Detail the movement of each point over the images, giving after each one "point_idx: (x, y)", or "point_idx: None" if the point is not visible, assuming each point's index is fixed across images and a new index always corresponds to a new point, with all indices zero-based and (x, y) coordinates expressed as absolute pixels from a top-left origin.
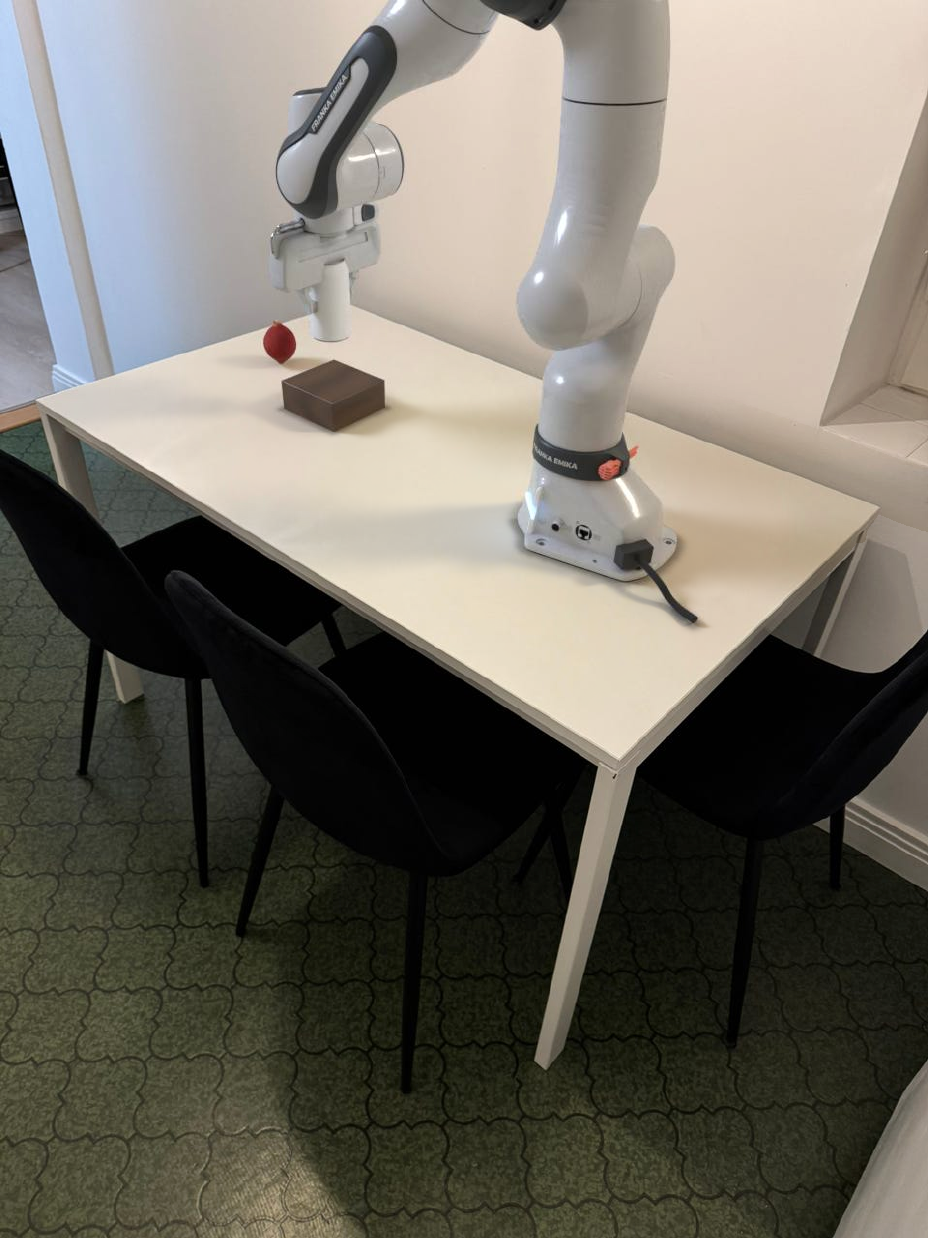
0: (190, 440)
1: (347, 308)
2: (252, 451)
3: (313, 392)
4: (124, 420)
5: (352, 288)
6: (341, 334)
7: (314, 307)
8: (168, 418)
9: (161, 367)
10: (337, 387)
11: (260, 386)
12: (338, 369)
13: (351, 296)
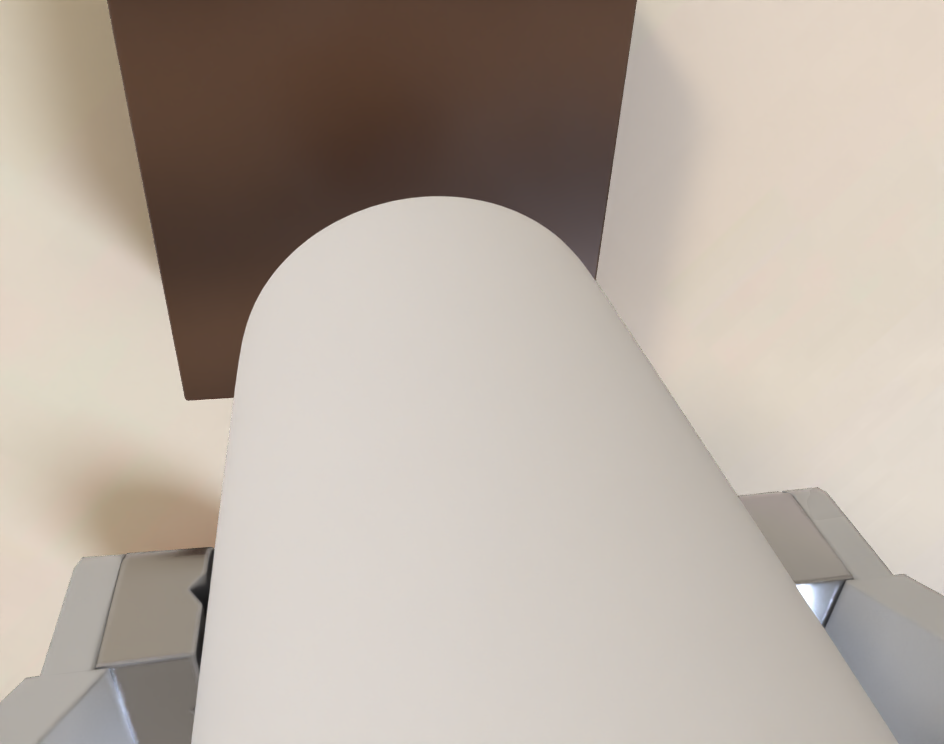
0: (935, 329)
1: (405, 365)
2: (928, 94)
3: (589, 160)
4: (895, 541)
5: (69, 674)
6: (489, 216)
7: (801, 529)
8: (829, 485)
9: None
10: (444, 105)
11: None
12: (258, 288)
13: (123, 577)
